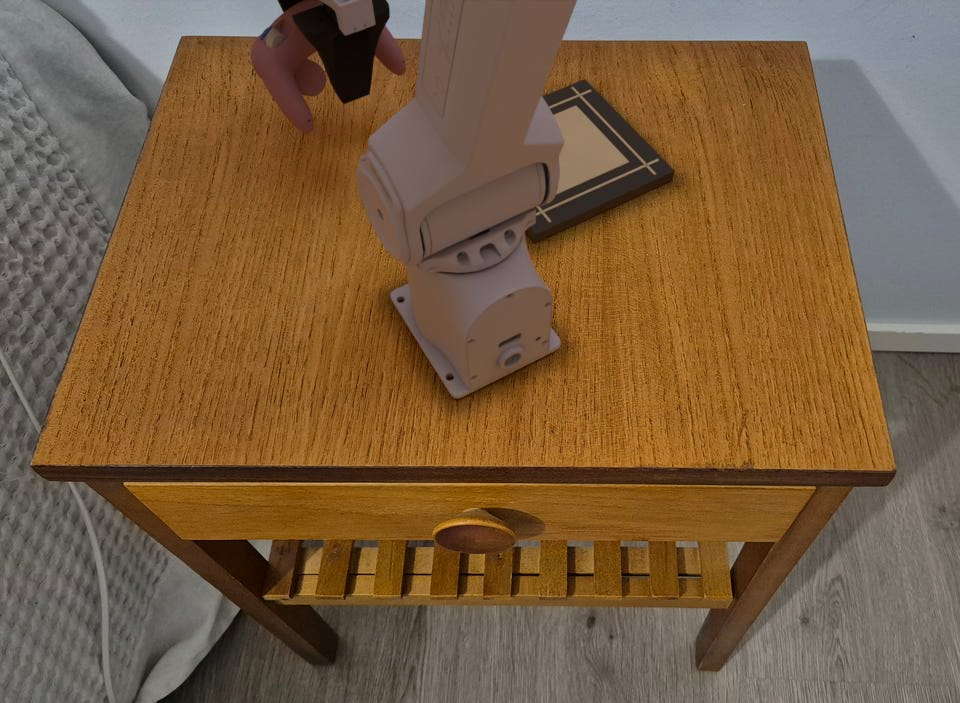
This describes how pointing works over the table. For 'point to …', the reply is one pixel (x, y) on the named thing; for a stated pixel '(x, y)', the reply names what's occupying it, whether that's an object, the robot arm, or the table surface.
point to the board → (595, 161)
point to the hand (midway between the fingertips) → (333, 67)
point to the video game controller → (303, 64)
